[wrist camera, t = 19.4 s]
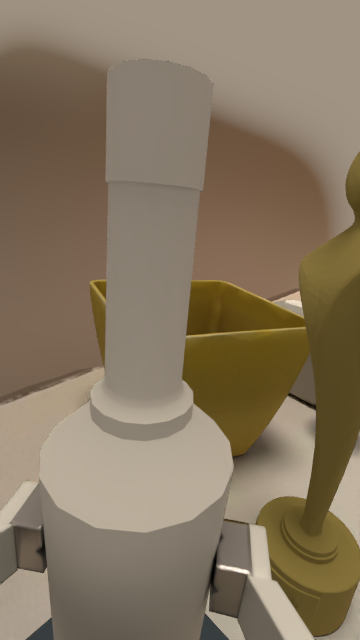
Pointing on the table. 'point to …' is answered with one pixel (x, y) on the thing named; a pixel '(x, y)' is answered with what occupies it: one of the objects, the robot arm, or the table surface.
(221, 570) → the robot arm
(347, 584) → the sculpture
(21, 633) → the table surface
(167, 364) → the bottle
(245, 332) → the flower pot
